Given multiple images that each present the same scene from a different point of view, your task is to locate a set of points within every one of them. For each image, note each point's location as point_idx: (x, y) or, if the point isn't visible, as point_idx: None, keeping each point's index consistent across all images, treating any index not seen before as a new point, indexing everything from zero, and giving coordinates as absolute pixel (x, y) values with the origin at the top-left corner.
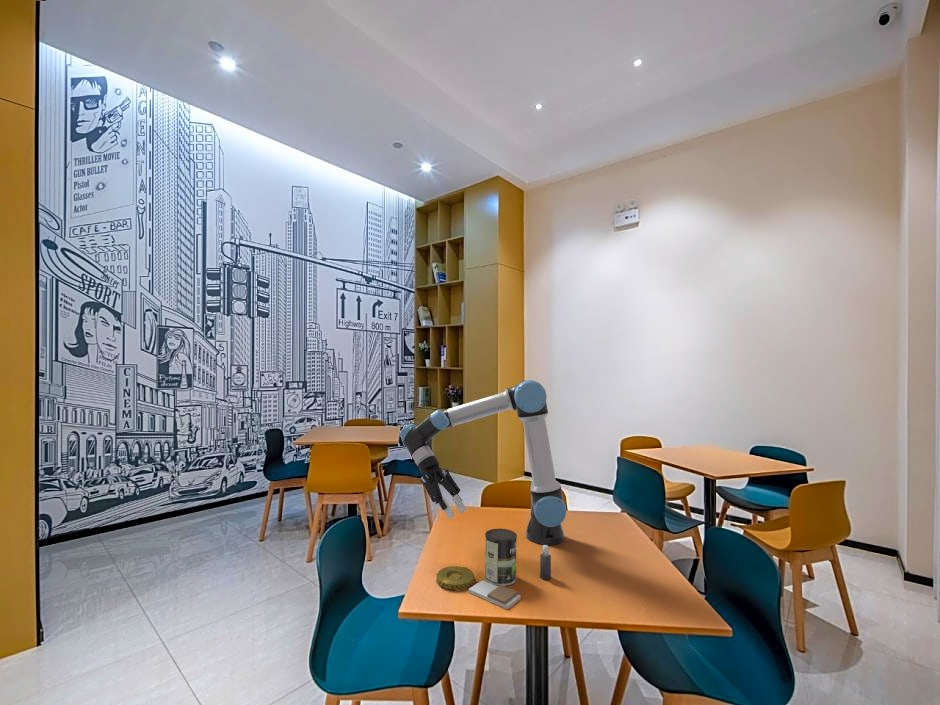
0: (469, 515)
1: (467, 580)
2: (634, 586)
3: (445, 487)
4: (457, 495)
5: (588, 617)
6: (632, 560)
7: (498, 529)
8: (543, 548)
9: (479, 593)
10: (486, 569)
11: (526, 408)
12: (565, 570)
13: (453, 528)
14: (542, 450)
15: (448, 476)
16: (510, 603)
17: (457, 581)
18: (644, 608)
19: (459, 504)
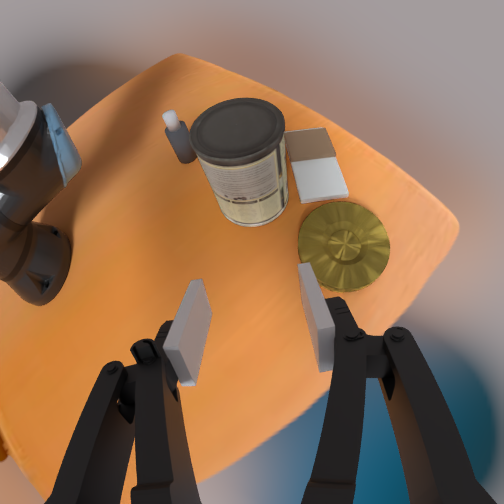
0: (54, 474)
1: (337, 207)
2: (141, 100)
3: (186, 458)
4: (171, 338)
5: (247, 83)
6: (74, 140)
7: (208, 150)
8: (175, 115)
9: (340, 171)
10: (284, 191)
11: None
12: (144, 157)
13: None
14: None
15: (80, 493)
16: (314, 128)
17: (359, 217)
18: (184, 76)
19: (198, 318)
